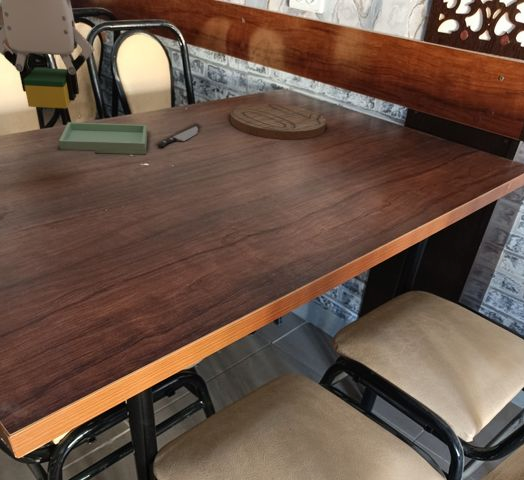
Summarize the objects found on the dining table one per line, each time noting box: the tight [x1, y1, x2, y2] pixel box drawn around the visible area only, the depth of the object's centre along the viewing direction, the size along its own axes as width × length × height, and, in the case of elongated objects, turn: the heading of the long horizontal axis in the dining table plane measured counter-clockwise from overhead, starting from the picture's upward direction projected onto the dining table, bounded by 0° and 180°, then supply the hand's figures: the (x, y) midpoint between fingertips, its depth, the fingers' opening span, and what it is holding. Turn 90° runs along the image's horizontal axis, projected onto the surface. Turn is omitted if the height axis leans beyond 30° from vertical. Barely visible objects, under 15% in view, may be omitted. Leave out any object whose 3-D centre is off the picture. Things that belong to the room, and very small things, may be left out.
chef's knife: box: [157, 125, 199, 148], centre depth 118 cm, size 19×1×3 cm
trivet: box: [230, 102, 327, 141], centre depth 132 cm, size 25×25×2 cm
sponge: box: [23, 67, 72, 109], centre depth 85 cm, size 6×9×4 cm, turn 7°
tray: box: [58, 121, 148, 155], centre depth 111 cm, size 17×13×2 cm
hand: (52, 96), depth 86 cm, fingers closed on sponge, 6 cm apart
